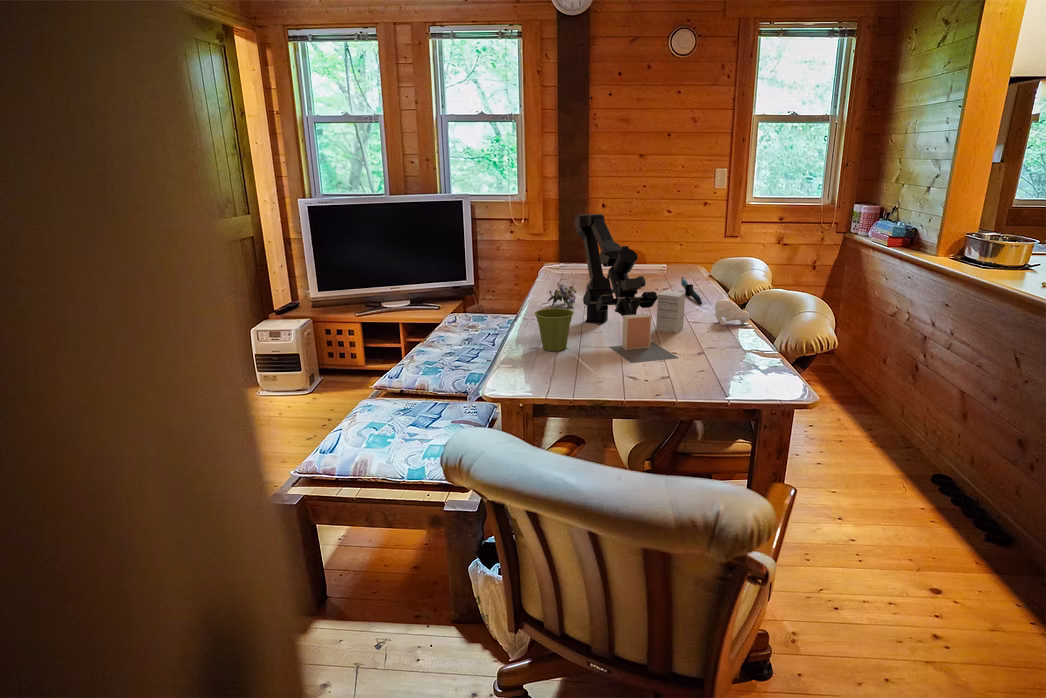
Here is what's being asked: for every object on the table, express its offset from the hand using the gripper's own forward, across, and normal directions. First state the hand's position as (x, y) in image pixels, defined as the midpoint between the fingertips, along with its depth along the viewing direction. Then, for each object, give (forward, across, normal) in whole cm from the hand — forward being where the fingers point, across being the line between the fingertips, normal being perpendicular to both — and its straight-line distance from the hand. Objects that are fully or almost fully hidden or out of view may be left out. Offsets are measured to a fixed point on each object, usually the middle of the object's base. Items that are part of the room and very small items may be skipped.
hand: (634, 324), depth 187 cm
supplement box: (-4, +19, +14) cm, 24 cm away
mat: (+10, 0, 0) cm, 10 cm away
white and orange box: (+6, 0, +3) cm, 7 cm away
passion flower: (-34, -5, +43) cm, 55 cm away
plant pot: (+1, -24, +8) cm, 26 cm away
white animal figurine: (-5, +43, +15) cm, 46 cm away
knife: (-34, +51, +43) cm, 75 cm away
